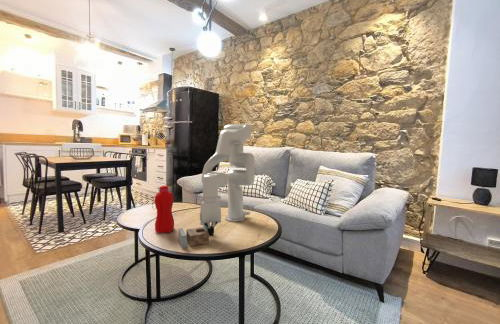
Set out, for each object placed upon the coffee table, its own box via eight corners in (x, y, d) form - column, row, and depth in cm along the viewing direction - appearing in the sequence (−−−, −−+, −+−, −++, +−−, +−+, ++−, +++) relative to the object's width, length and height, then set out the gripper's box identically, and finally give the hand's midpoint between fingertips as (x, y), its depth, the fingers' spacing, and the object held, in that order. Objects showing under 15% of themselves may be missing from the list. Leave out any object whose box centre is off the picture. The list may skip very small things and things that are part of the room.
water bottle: (155, 227, 133) (154, 184, 131) (175, 227, 134) (174, 184, 132) (150, 234, 124) (148, 187, 122) (171, 233, 125) (170, 187, 123)
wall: (182, 239, 117) (182, 228, 117) (186, 247, 108) (186, 235, 108) (178, 240, 116) (178, 228, 116) (182, 248, 107) (182, 236, 107)
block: (204, 236, 121) (204, 226, 121) (208, 242, 113) (208, 232, 113) (186, 239, 117) (186, 229, 117) (190, 246, 109) (190, 235, 109)
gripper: (222, 196, 123) (222, 230, 125) (193, 199, 117) (194, 234, 118) (227, 199, 117) (227, 235, 118) (197, 202, 110) (197, 240, 111)
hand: (210, 234), depth 118 cm, fingers closed
